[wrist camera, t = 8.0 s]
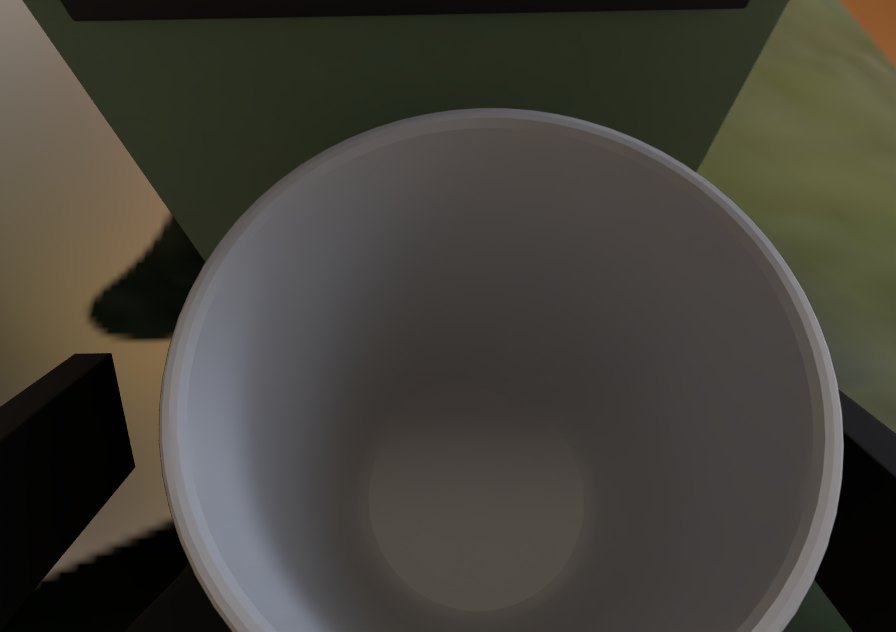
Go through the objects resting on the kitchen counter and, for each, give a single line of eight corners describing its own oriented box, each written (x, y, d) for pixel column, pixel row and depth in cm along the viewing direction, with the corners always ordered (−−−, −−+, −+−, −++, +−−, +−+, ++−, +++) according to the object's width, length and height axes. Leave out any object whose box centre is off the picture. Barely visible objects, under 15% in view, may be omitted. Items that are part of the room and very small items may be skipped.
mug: (503, 292, 20) (543, 22, 11) (710, 533, 17) (1005, 435, 8) (153, 525, 17) (-186, 421, 8) (326, 867, 14) (90, 1323, 5)
